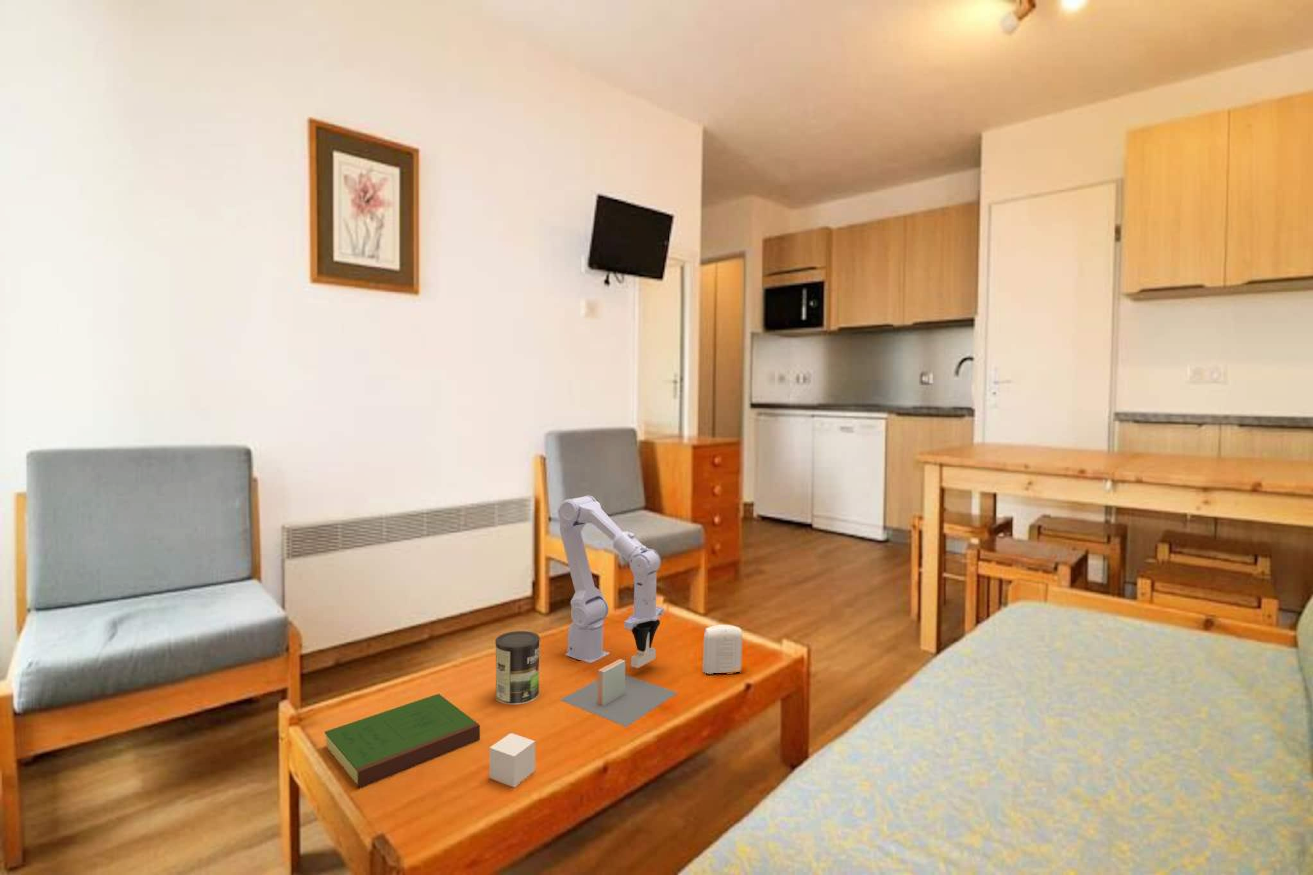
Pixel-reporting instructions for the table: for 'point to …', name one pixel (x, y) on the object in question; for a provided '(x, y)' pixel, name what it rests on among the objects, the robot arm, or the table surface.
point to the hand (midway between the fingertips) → (644, 648)
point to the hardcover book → (400, 738)
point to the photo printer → (722, 649)
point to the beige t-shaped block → (643, 655)
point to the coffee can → (517, 667)
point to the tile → (611, 682)
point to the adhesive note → (512, 759)
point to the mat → (621, 700)
